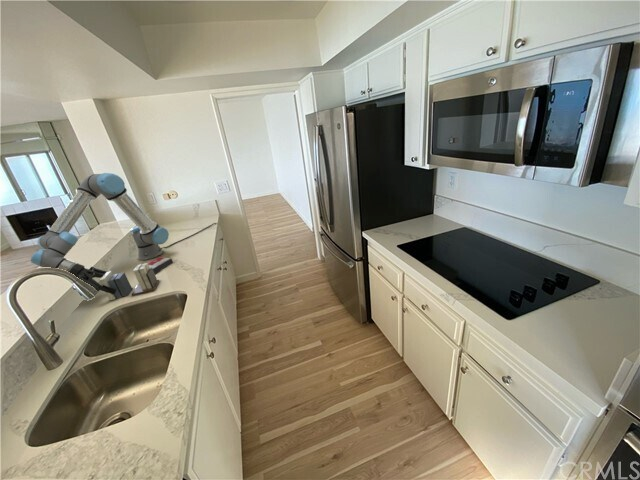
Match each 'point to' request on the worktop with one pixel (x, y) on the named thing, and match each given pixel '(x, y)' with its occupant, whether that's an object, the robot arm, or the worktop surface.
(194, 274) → the worktop surface
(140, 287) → the bookstand
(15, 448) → the worktop surface
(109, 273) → the white book
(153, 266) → the red and white box
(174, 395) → the worktop surface
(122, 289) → the grey books
